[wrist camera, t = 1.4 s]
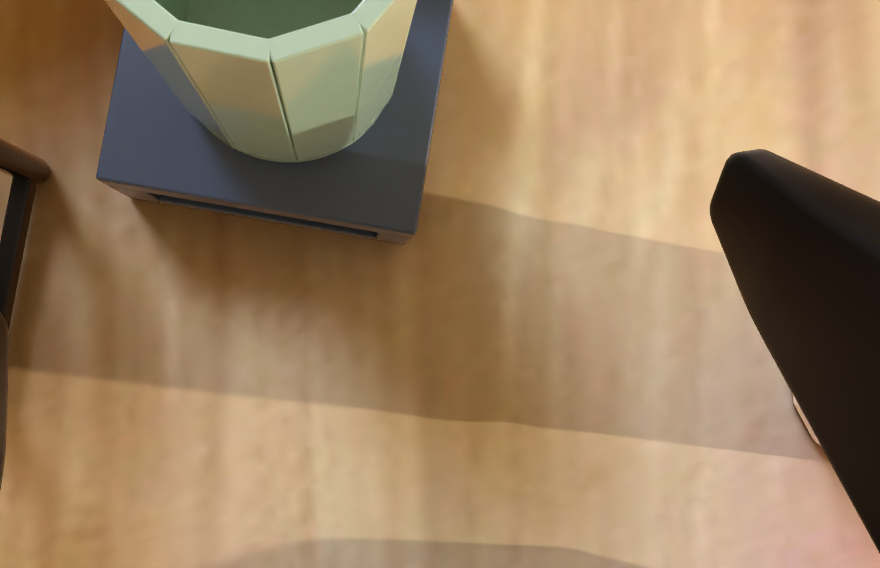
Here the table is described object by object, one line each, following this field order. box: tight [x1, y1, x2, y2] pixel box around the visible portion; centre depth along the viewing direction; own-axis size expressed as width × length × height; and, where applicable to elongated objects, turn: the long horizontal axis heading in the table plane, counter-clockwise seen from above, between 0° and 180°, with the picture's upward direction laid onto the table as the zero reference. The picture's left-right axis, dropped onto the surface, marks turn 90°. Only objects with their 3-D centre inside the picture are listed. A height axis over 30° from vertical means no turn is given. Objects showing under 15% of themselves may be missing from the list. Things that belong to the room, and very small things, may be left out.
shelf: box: [96, 0, 453, 244], centre depth 19 cm, size 9×9×5 cm
